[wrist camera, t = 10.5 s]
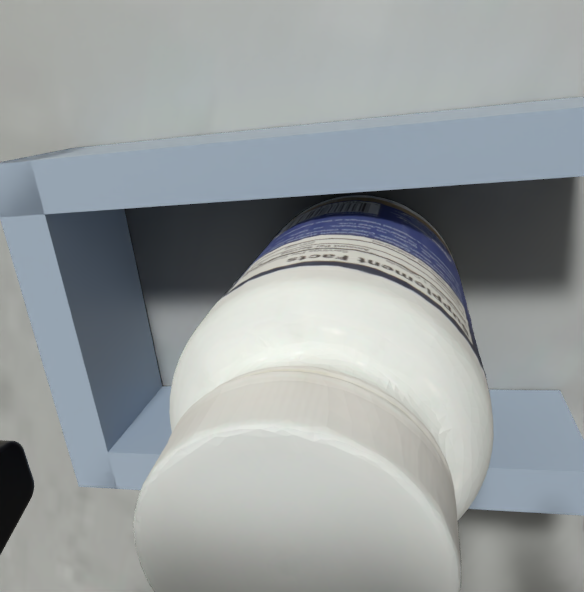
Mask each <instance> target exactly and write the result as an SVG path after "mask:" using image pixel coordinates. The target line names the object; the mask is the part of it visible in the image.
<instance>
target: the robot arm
mask: <svg viewBox="0 0 584 592" xmlns="http://www.w3.org/2000/svg"><path fill="white" fill-rule="evenodd" d="M33 491H34V480H33V477H32V474H31V471H30V468H29V465H28V462H27V458H26V455H25V452H24V449H23V447H22V446H21V445H20V444H19V443H18V442H16V441H0V554H1V553H2V551H3V549H4V547H5V545H6V543H7V542H8V540H9V538H10V536H11V534H12V532H13V531H14V529H15V527H16V525H17V523H18V521H19V519H20V518H21V516H22V514H23V512H24V510H25V508H26V507H27V505H28V503H29V501H30V499H31V497H32V494H33Z"/></svg>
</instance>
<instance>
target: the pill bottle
mask: <svg viewBox="0 0 584 592" xmlns="http://www.w3.org/2000/svg"><path fill="white" fill-rule="evenodd" d="M169 414H170V424H171V431H172V434H171V436H170V438H169V440H168V443H167V445H166V446H165V448H164V450H163V451H162V453H161V454H160V456H159V458H158V459H157V461H156V463H155V465H154V466H153V468H152V470H151V471H150V473H149V475H148V477H147V478H146V480H145V482H144V483H143V485H142V488H141V491H140V494H139V497H138V500H137V504H136V509H135V514H134V524H133V529H134V537H135V545H136V549H137V553H138V556H139V560H140V564H141V567H142V569H143V572H144V574H145V576H146V578H147V580H148V582H149V584H150V586H151V587H152V589H153V590H154V592H460V588H461V553H460V542H459V530H458V520H459V519H460V518H461V517H462V516H463V514H464V513H465V512H466V511H467V509H468V508H469V507H470V505H471V504H472V502H473V501H474V499H475V498H476V496H477V494H478V492H479V490H480V488H481V486H482V484H483V481H484V479H485V477H486V474H487V470H488V467H489V464H490V459H491V454H492V447H493V437H494V433H493V414H492V405H491V398H490V393H489V388H488V384H487V379H486V374H485V371H484V369H483V365H482V362H481V358H480V355H479V352H478V348H477V344H476V340H475V337H474V332H473V328H472V323H471V318H470V314H469V310H468V307H467V303H466V299H465V296H464V292H463V288H462V284H461V280H460V276H459V273H458V270H457V268H456V265H455V262H454V259H453V257H452V254H451V252H450V250H449V248H448V247H447V245H446V243H445V242H444V240H443V238H442V237H441V235H440V234H439V233H438V232H437V231H436V229H435V228H434V227H433V226H432V225H431V224H430V223H429V222H428V221H426V220H425V219H424V218H423V217H422V216H421V215H419V214H418V213H416V212H414V211H413V210H411V209H409V208H408V207H406V206H404V205H402V204H400V203H398V202H395V201H392V200H388V199H385V198H381V197H376V196H368V195H350V196H343V197H336V198H332V199H329V200H326V201H323V202H321V203H318V204H316V205H314V206H312V207H310V208H308V209H307V210H305V211H304V212H302V213H301V214H299V215H298V216H297V217H295V218H294V219H293V220H291V221H290V222H289V223H288V224H287V225H286V226H285V227H284V228H283V229H281V231H280V232H279V233H278V234H277V235H276V236H275V237H274V239H273V240H272V241H271V242H270V244H269V245H268V246H267V247H266V248H265V249H264V251H263V252H262V253H261V254H260V255H259V256H258V257H257V259H256V260H255V261H254V262H253V263H252V264H251V265H250V266H249V267H248V269H247V270H246V271H245V272H244V273H243V274H242V276H241V277H240V278H239V279H238V280H237V281H236V282H235V283H234V284H233V286H232V287H231V288H230V289H229V290H228V291H227V292H226V293H225V294H224V296H223V297H222V298H221V299H220V300H219V301H218V302H217V303H216V304H215V305H214V306H213V308H212V309H211V310H210V312H209V313H208V314H207V316H206V317H205V318H204V320H203V321H202V322H201V323H200V325H199V326H198V327H197V329H196V330H195V331H194V333H193V335H192V336H191V338H190V339H189V341H188V342H187V344H186V346H185V348H184V350H183V352H182V354H181V356H180V358H179V361H178V364H177V367H176V370H175V373H174V377H173V381H172V386H171V393H170V410H169Z"/></svg>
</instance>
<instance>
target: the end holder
mask: <svg viewBox="0 0 584 592" xmlns="http://www.w3.org/2000/svg"><path fill="white" fill-rule="evenodd" d="M579 176H584V97H574V98H564V99H554V100H544V101H534V102H524V103H514V104H504V105H494V106H484V107H475V108H465V109H455V110H445V111H435V112H425V113H415V114H405V115H395V116H385V117H375V118H366V119H356V120H346V121H336V122H326V123H316V124H306V125H296V126H286V127H276V128H266V129H257V130H247V131H237V132H227V133H217V134H207V135H197V136H187V137H177V138H167V139H158V140H148V141H138V142H128V143H118V144H108V145H98V146H88V147H78V148H70V149H65V150H60V151H55V152H50V153H45V154H40V155H35V156H29V157H24V158H19V159H14V160H9V161H4V162H0V220H1V223H2V227H3V230H4V233H5V237H6V240H7V244H8V247H9V250H10V254H11V257H12V261H13V264H14V267H15V271H16V274H17V278H18V281H19V284H20V288H21V291H22V295H23V298H24V301H25V305H26V308H27V312H28V315H29V318H30V322H31V325H32V329H33V332H34V335H35V339H36V342H37V346H38V349H39V352H40V356H41V359H42V363H43V366H44V369H45V373H46V376H47V380H48V383H49V386H50V390H51V393H52V397H53V400H54V403H55V407H56V410H57V414H58V417H59V420H60V424H61V427H62V431H63V434H64V437H65V441H66V444H67V448H68V451H69V454H70V458H71V461H72V465H73V468H74V471H75V475H76V478H77V482H78V485H79V487H96V488H114V489H131V490H141V488H142V485H143V483H144V482H145V480H146V478H147V477H148V475H149V473H150V471H151V470H152V468H153V466H154V465H155V463H156V461H157V459H158V458H159V456H160V454H161V453H162V451H163V450H164V448H165V446H166V445H167V443H168V440H169V438H170V436H171V434H172V431H171V424H170V414H169V410H170V393H171V386H162V383H161V378H160V374H159V369H158V364H157V360H156V355H155V350H154V346H153V341H152V336H151V332H150V327H149V322H148V318H147V313H146V308H145V304H144V299H143V294H142V290H141V285H140V280H139V275H138V271H137V266H136V261H135V257H134V252H133V247H132V243H131V238H130V233H129V229H128V224H127V219H126V215H125V210H124V209H127V208H141V207H155V206H170V205H184V204H198V203H212V202H226V201H240V200H254V199H268V198H282V197H297V196H311V195H325V194H339V193H353V192H367V191H381V190H395V189H410V188H424V187H438V186H452V185H466V184H480V183H494V182H508V181H523V180H537V179H551V178H565V177H579ZM489 393H490V398H491V405H492V414H493V433H494V437H493V447H492V454H491V459H490V464H489V467H488V470H487V474H486V477H485V479H484V481H483V484H482V486H481V488H480V490H479V492H478V494H477V496H476V498H475V499H474V501H473V502H472V504H471V505H470V507H469V508H468V509H480V510H497V511H515V512H532V513H549V514H567V515H584V440H583V438H582V436H581V434H580V431H579V429H578V427H577V425H576V423H575V421H574V419H573V417H572V415H571V412H570V410H569V408H568V406H567V404H566V402H565V400H564V398H563V396H562V394H561V391H560V390H489Z"/></svg>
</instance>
